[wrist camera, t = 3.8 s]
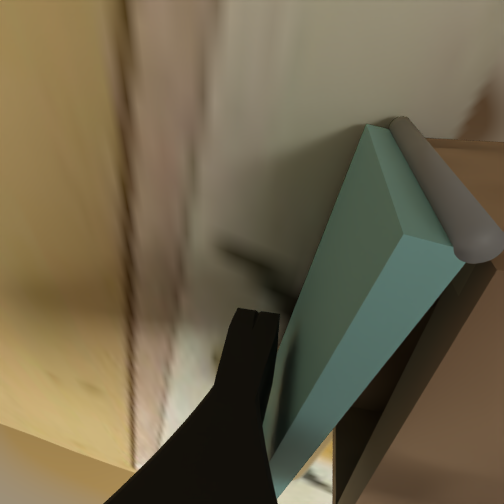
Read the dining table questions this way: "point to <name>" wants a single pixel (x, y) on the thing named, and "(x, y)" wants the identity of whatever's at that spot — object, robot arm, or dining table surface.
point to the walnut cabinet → (438, 381)
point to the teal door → (369, 284)
